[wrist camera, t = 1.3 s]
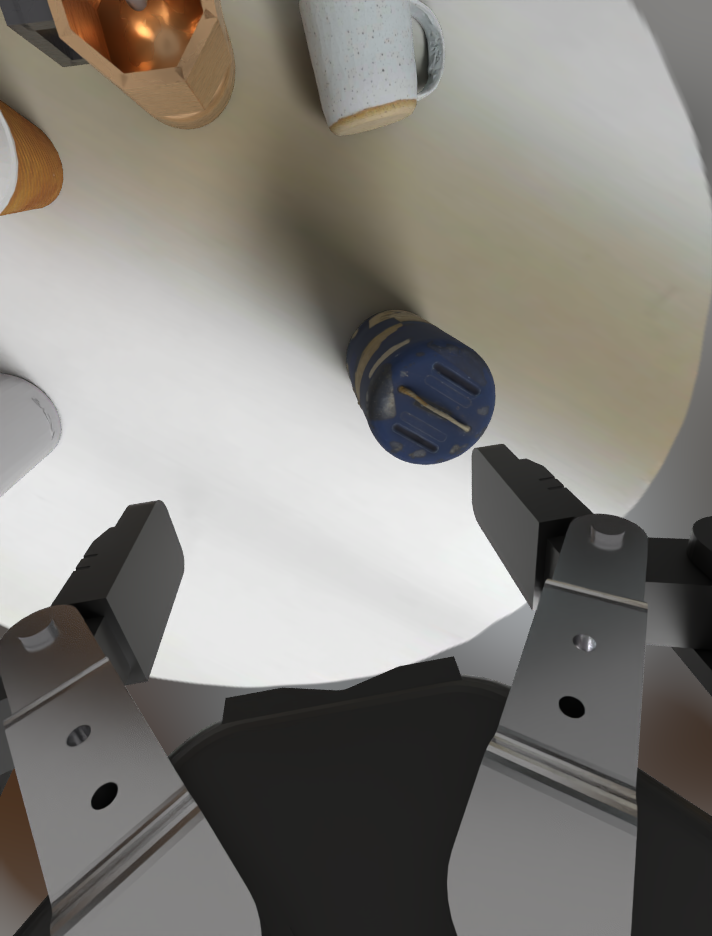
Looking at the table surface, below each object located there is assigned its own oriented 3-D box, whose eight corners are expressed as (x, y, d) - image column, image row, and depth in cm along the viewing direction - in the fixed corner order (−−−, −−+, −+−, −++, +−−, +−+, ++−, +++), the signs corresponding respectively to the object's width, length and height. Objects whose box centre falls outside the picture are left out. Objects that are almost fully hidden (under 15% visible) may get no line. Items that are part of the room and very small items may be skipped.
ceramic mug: (325, 147, 39) (335, 128, 32) (295, 21, 35) (299, -32, 28) (446, 112, 39) (481, 86, 32) (429, -17, 35) (465, -79, 28)
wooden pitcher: (104, 141, 37) (28, 102, 26) (57, -5, 33) (-54, -120, 22) (247, 121, 37) (229, 75, 27) (218, -25, 33) (184, -146, 23)
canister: (386, 417, 50) (430, 502, 34) (324, 356, 47) (341, 419, 31) (453, 355, 48) (534, 414, 32) (394, 285, 44) (452, 312, 28)
